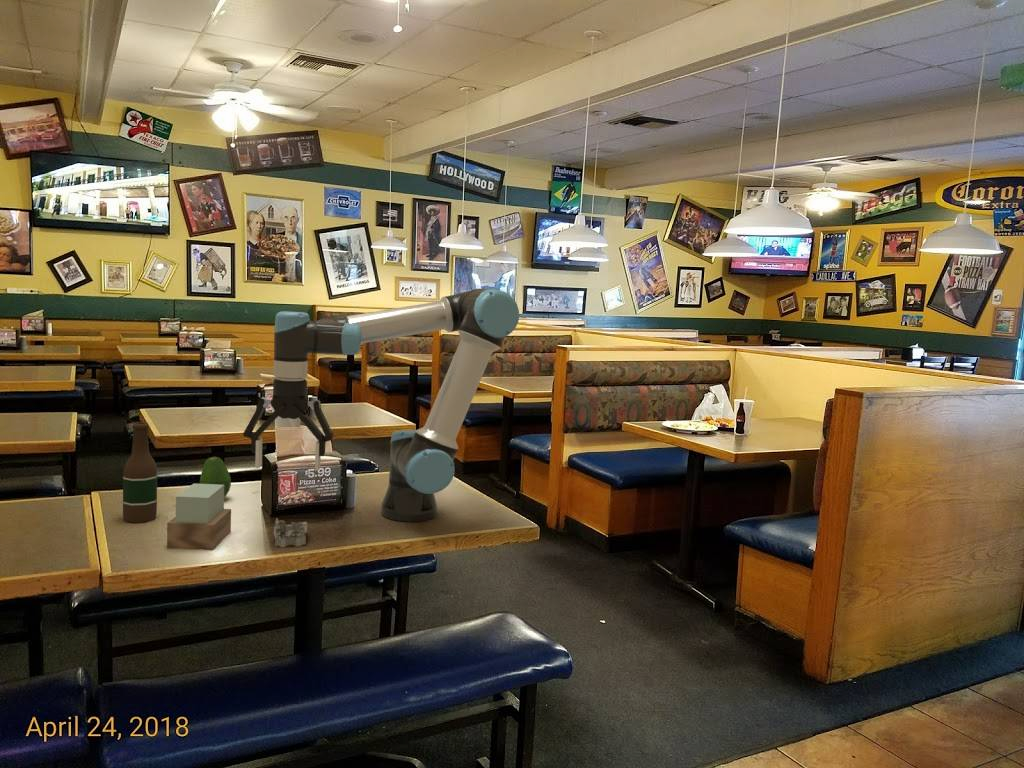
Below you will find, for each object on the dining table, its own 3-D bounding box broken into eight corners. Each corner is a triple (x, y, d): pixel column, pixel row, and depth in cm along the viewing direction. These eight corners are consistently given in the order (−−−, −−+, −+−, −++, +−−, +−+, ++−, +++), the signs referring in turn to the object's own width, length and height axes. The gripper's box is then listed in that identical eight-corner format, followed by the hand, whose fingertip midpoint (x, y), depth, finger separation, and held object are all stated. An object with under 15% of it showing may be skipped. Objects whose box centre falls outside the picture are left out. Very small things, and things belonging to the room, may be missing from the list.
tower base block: (230, 533, 172) (231, 509, 171) (213, 551, 160) (213, 525, 159) (187, 531, 171) (188, 507, 171) (167, 549, 159) (167, 523, 159)
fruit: (198, 497, 198) (198, 454, 196) (228, 495, 201) (229, 453, 200) (200, 505, 191) (201, 461, 189) (232, 503, 194) (233, 459, 193)
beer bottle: (151, 511, 183) (152, 419, 180) (162, 520, 177) (163, 424, 174) (117, 516, 177) (118, 421, 174) (128, 525, 172) (128, 427, 169)
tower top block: (223, 509, 171) (224, 484, 170) (208, 523, 160) (208, 497, 159) (193, 508, 170) (193, 483, 169) (175, 522, 159) (175, 496, 159)
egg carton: (274, 533, 174) (275, 517, 174) (306, 532, 176) (307, 516, 176) (272, 548, 164) (272, 531, 164) (306, 547, 166) (307, 530, 166)
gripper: (347, 379, 171) (344, 466, 174) (240, 373, 169) (238, 461, 171) (342, 383, 163) (339, 474, 166) (230, 377, 161) (228, 469, 164)
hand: (288, 468), depth 169 cm, fingers open, 13 cm apart
